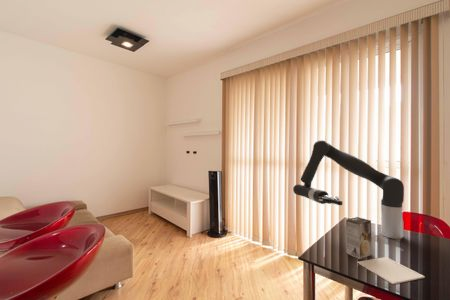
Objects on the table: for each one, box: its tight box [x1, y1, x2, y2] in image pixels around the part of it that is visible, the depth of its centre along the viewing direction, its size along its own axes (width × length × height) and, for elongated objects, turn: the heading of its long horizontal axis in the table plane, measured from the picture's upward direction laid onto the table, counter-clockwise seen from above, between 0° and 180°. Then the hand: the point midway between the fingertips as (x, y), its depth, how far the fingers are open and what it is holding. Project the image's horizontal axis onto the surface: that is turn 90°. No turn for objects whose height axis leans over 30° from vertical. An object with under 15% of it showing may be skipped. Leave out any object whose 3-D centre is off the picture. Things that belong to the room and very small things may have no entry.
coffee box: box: [345, 216, 372, 260], centre depth 95 cm, size 9×6×16 cm
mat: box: [356, 256, 426, 285], centre depth 82 cm, size 16×14×1 cm
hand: (341, 203), depth 105 cm, fingers closed
